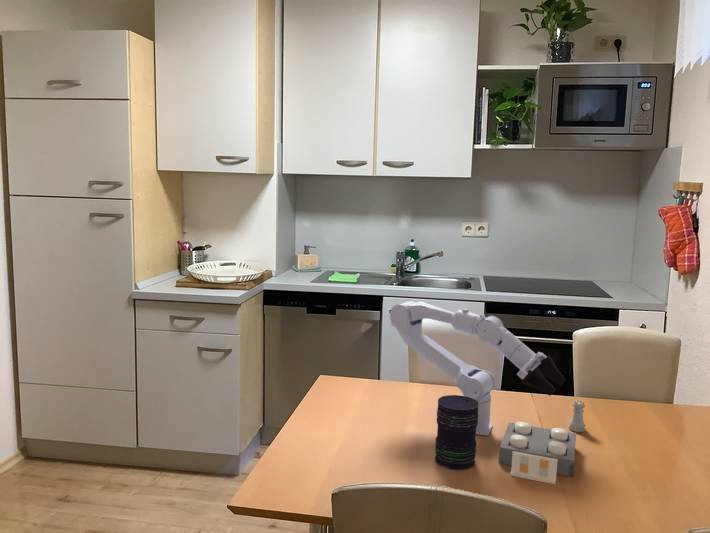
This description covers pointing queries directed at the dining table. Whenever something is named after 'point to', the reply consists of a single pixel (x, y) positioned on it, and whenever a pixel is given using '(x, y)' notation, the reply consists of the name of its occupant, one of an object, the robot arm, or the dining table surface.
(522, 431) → the button back left
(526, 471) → the pattern card
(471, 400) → the storage jar
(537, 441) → the button board
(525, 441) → the button front left
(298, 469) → the dining table surface
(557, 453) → the button front right
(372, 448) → the dining table surface
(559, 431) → the button back right
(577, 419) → the rook chess piece
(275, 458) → the dining table surface
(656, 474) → the dining table surface
